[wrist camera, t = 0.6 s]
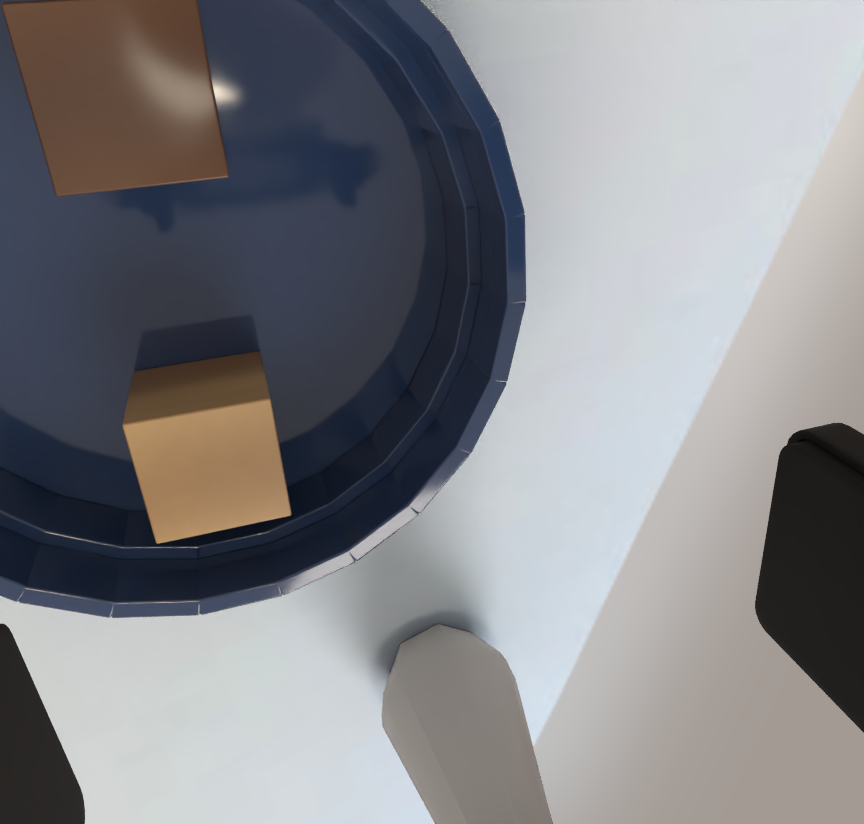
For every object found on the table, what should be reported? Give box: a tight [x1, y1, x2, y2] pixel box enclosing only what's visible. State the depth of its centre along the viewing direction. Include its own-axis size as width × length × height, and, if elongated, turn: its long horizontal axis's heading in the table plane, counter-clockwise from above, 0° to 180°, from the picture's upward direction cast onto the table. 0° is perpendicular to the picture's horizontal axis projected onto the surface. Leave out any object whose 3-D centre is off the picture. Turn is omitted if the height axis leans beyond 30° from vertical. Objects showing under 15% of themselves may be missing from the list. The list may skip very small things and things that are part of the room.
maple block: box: [122, 351, 292, 544], centre depth 23 cm, size 4×4×4 cm
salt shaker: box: [382, 624, 553, 824], centre depth 27 cm, size 6×6×13 cm
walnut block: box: [1, 0, 229, 197], centre depth 19 cm, size 4×4×4 cm
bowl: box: [0, 0, 526, 618], centre depth 21 cm, size 19×19×5 cm
